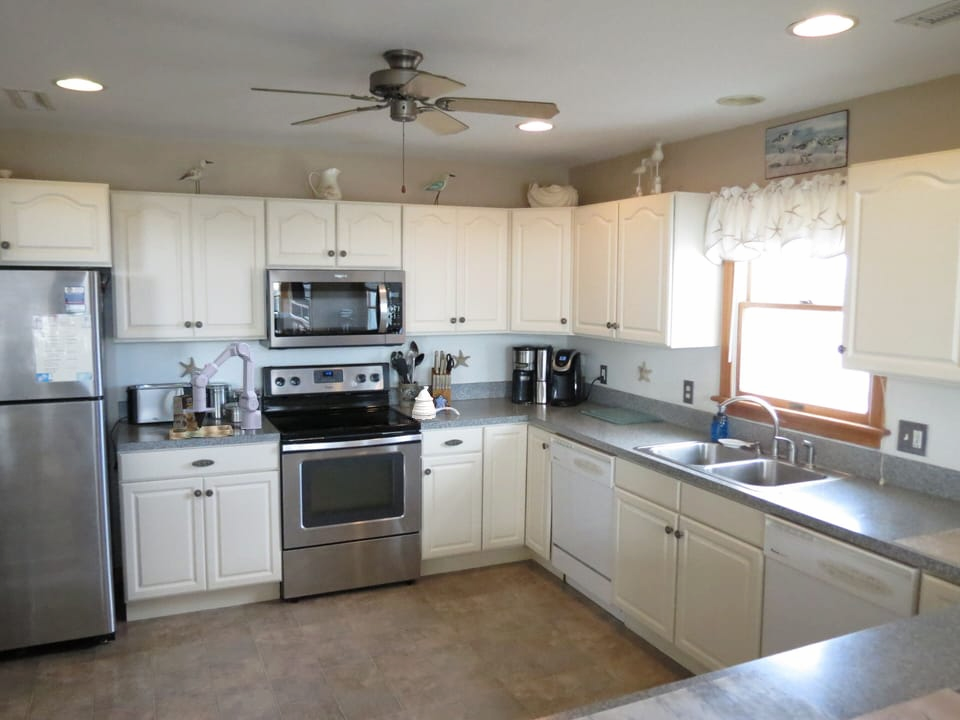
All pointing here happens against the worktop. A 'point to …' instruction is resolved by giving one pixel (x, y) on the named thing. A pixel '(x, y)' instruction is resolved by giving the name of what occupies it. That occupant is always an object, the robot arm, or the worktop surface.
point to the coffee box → (178, 406)
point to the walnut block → (191, 425)
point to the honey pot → (424, 406)
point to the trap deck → (201, 432)
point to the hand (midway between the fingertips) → (200, 427)
